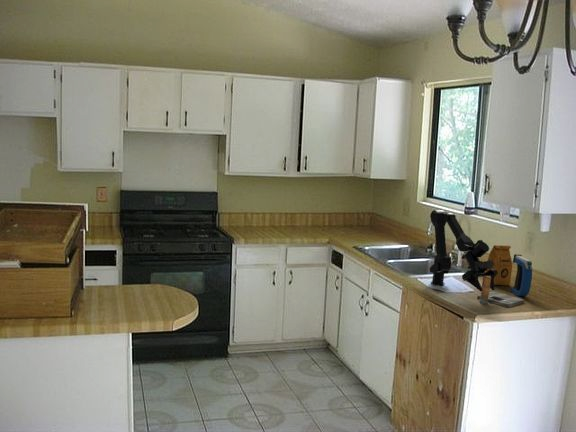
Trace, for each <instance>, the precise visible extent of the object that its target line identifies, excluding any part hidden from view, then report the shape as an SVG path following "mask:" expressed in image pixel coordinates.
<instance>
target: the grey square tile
mask: <svg viewBox="0 0 576 432" xmlns="http://www.w3.org/2000/svg"><path fill="white" fill-rule="evenodd" d="M480 297H481V294H478V295H477V296H476V298H477V300H480ZM488 303H490V304H493V305H494V304H495V305H498V306H501V307H504V308H511V307H515V306H518V305H522V304H524V303H525V299H524V298H520V297H516V296H512V295H509V294H505V293H501V292H498V291H495V290H493V291H489V297H488Z"/></svg>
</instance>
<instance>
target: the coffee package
mask: <svg viewBox="0 0 576 432" xmlns="http://www.w3.org/2000/svg"><path fill="white" fill-rule="evenodd" d="M510 249H511V245H508V244H507V245H499V244H495V245H493V247H492V248H491V250H490V252H489V254H488V257H487V260H493V262H494V266H493V268H487V269H488V270H487V271H489V270H491V269H495V270H497V272H498V275H496V276H495V277H494V286H510V284H511V282H512V281H511V279H512V278H511V277H512V273H513V272H512V270H513V259H512V256H511V252H510V251H511V250H510ZM487 271H485V272H487Z"/></svg>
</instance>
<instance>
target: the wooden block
mask: <svg viewBox="0 0 576 432" xmlns="http://www.w3.org/2000/svg"><path fill="white" fill-rule="evenodd" d="M490 282H491V277H490V276H483V277H482V283H481V287H482V291H480V295H481V297H480V299H479V303H480V304H482V305H488V303H489V302H488V297H489V293H490V289H491V288H490Z"/></svg>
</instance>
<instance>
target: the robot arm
mask: <svg viewBox="0 0 576 432" xmlns="http://www.w3.org/2000/svg"><path fill="white" fill-rule="evenodd" d="M429 218H430V223H431V224H432V225H433V228H434V233H435V235H434V237H435V249H436V255H435V257H434V260H433V264H432V265H431V266H430V267H429V272H430V273H431V274H432V280H431V282H430V285H434V286H440V287H443V286H445V282H444V280H445V274H449V272H450V270H451V268H452V265H453V264H452V257H451V256H449V255H448V254H447V245H446V244H447V243H446V231H445V226H446V224H447V225H448V227H449V229H450V230H451V232H452V233H453V235H454V238H455V240H456V241H455V244H456V247H457V250H458V251H459V252H463V253H462V256H461V259H462V260H465V261H466V263H467V264H468V266H467V269H468V270H467V271H465V272H464V273H463V274H462V277H461V278H462V281H463V282H467V283H469V284H470V285H471V286H473V287H475V289H477V290H478V291H479V292H481V291H482V284H481V283H480V281H479V278H483V276H490V277H491V282H490V289H491V290H492V291H495V285H494V277H495V276H496V275H498V272H497V270H495V269H491V270H489V271H487V270H488V269H487V268H493V266H494V262H493V260H488V259H487V260H486V261H482V260H480V258H482V256H484V255H485V254H487V253H488V251H490V247H489V245H488V244H487V243H486V242H485V241H483V239H478V240H477V241H476V243H475V242H474V240H473V239H472V238H471V237H470V236H468V235H467V234H466V233H465V232H464V229H463V228H462V226H461V225H460V222H459V221H458V219H457V216H456V214H455V213H451V212H447V211H445V210H441V209H440V210H438V209H437V210H435V209H434V210H432V211H431V213H430V217H429ZM464 252H466V253H464ZM486 271H487V272H486Z"/></svg>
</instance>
